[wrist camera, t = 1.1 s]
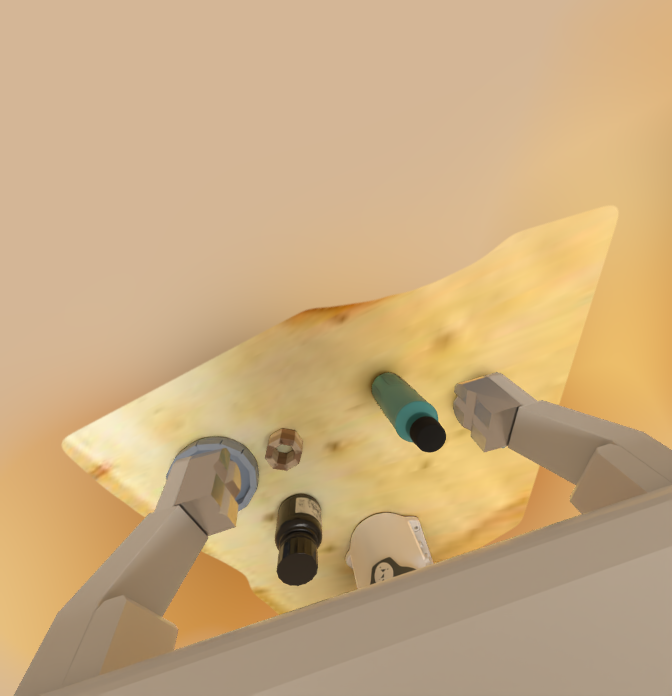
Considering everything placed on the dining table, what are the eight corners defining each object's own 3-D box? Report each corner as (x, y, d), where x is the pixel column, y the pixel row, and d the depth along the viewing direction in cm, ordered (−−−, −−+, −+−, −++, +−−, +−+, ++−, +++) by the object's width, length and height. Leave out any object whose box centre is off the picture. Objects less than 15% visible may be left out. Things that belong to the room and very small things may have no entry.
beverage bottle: (363, 393, 51) (396, 454, 31) (377, 363, 50) (421, 407, 30) (391, 405, 52) (441, 471, 33) (406, 376, 51) (466, 426, 32)
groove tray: (274, 482, 53) (272, 492, 50) (207, 521, 53) (202, 533, 50) (227, 421, 49) (222, 429, 47) (156, 464, 50) (147, 474, 47)
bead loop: (307, 447, 52) (307, 458, 49) (280, 463, 52) (278, 475, 49) (290, 423, 51) (288, 432, 47) (262, 439, 51) (259, 450, 47)
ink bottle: (329, 517, 56) (334, 576, 44) (293, 536, 56) (289, 600, 44) (306, 484, 54) (306, 537, 42) (269, 504, 54) (258, 562, 42)
